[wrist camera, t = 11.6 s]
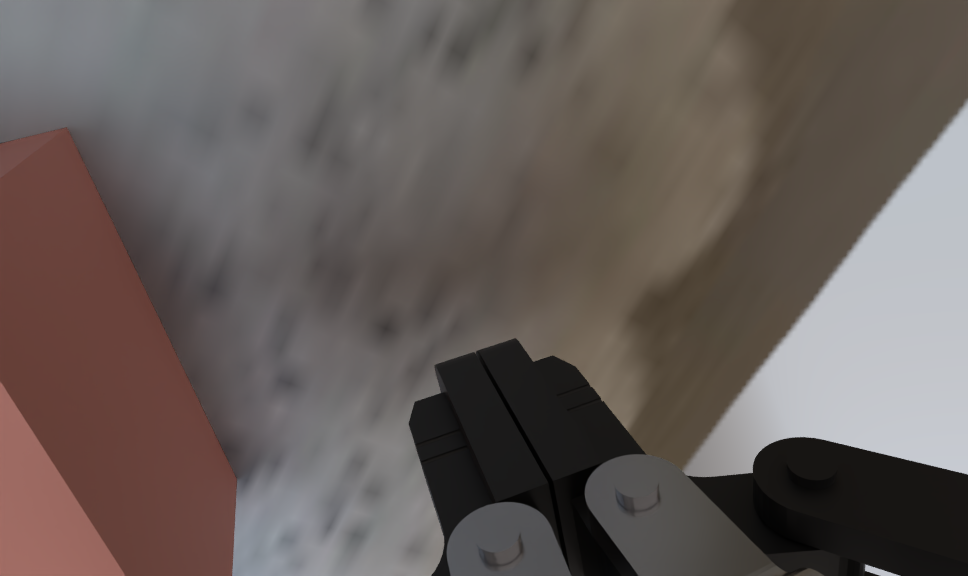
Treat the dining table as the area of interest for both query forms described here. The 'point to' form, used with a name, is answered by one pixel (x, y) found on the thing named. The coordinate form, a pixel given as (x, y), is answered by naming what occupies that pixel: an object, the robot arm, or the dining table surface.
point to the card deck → (94, 395)
